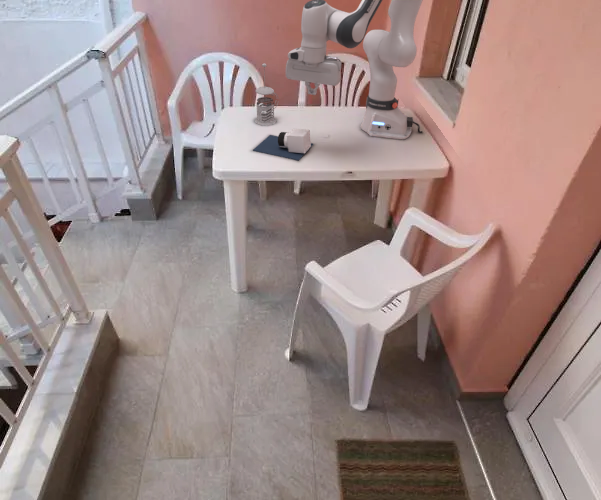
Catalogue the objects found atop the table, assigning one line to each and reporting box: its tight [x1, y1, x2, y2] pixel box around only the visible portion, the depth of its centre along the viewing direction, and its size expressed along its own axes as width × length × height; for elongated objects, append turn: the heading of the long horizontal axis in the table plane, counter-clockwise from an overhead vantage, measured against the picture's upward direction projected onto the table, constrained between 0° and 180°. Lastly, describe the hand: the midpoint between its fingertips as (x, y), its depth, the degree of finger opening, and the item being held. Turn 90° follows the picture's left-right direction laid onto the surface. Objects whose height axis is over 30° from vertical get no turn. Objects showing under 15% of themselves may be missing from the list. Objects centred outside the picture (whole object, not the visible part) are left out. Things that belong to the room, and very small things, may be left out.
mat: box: [252, 134, 314, 162], centre depth 169 cm, size 20×16×1 cm
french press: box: [254, 62, 279, 126], centre depth 182 cm, size 10×12×25 cm
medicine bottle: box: [278, 128, 312, 154], centre depth 165 cm, size 7×7×12 cm
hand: (312, 94), depth 153 cm, fingers closed
